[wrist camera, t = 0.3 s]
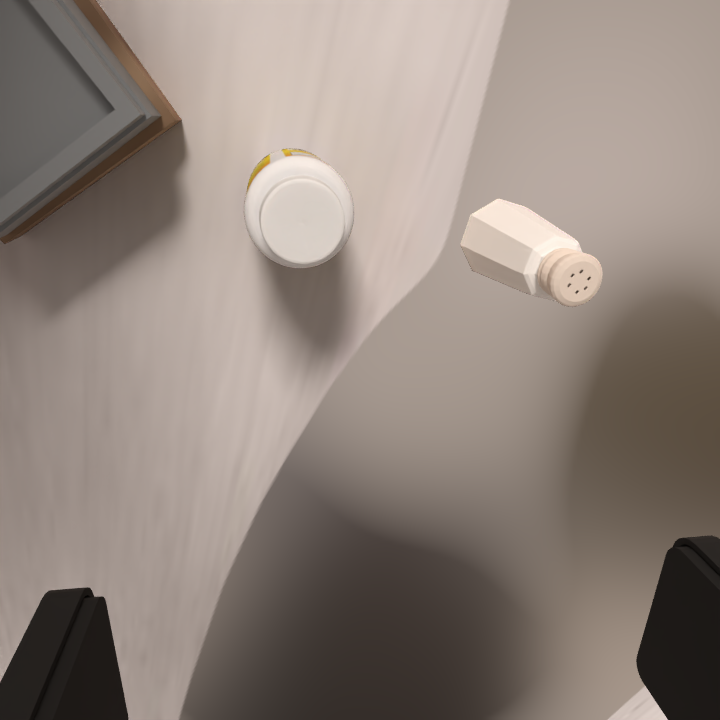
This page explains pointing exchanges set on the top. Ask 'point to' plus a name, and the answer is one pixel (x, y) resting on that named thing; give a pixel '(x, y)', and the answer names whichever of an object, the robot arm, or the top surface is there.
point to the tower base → (150, 133)
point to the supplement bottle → (297, 209)
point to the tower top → (58, 104)
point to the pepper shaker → (529, 254)
